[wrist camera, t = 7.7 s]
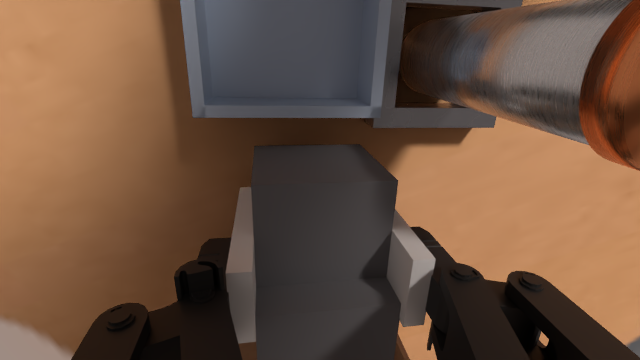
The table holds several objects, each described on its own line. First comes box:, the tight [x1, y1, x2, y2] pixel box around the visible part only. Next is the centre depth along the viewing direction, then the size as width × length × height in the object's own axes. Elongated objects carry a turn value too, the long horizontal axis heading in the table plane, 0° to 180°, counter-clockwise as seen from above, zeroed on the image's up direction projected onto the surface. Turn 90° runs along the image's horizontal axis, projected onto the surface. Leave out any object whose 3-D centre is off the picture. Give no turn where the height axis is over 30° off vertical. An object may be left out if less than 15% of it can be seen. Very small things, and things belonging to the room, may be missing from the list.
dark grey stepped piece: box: [251, 144, 401, 360], centre depth 14 cm, size 7×5×6 cm
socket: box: [365, 0, 523, 128], centre depth 17 cm, size 7×7×2 cm
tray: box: [180, 0, 392, 118], centre depth 14 cm, size 8×8×3 cm
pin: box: [399, 0, 640, 171], centre depth 12 cm, size 4×4×12 cm
